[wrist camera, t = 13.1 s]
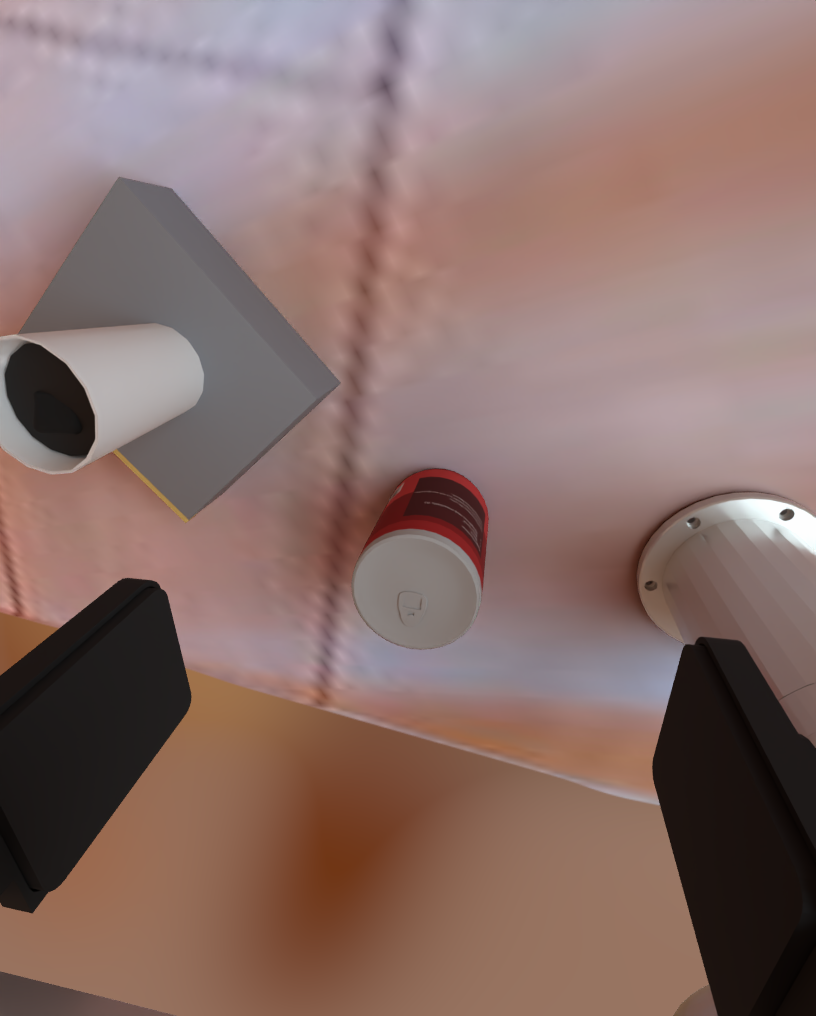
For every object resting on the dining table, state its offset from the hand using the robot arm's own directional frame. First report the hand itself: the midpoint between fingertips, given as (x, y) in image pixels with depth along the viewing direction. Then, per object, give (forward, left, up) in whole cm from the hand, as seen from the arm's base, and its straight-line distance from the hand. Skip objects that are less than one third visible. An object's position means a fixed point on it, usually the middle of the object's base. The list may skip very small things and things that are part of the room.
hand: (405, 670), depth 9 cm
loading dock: (+14, +15, -28) cm, 35 cm away
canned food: (-6, +9, -28) cm, 30 cm away
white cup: (+14, +15, -24) cm, 31 cm away
